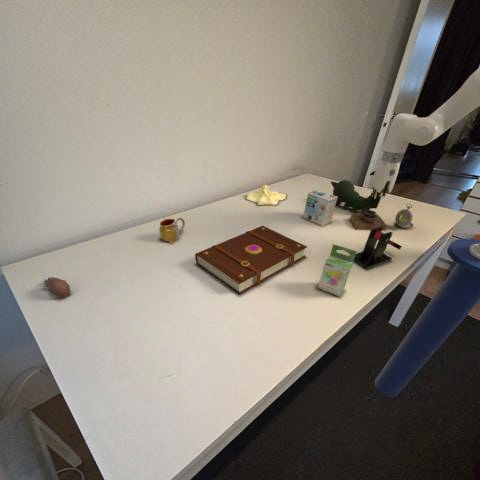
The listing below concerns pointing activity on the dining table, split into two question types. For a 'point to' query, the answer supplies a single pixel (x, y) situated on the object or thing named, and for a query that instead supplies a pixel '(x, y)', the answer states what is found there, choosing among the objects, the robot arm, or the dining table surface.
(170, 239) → the mug
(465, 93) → the robot arm
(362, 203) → the toy figurine
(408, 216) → the pocket watch
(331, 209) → the light bulb box
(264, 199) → the cloth
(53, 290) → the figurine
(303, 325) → the dining table surface
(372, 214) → the button
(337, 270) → the ink box
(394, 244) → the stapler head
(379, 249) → the black lever stand
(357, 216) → the button block
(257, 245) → the book
